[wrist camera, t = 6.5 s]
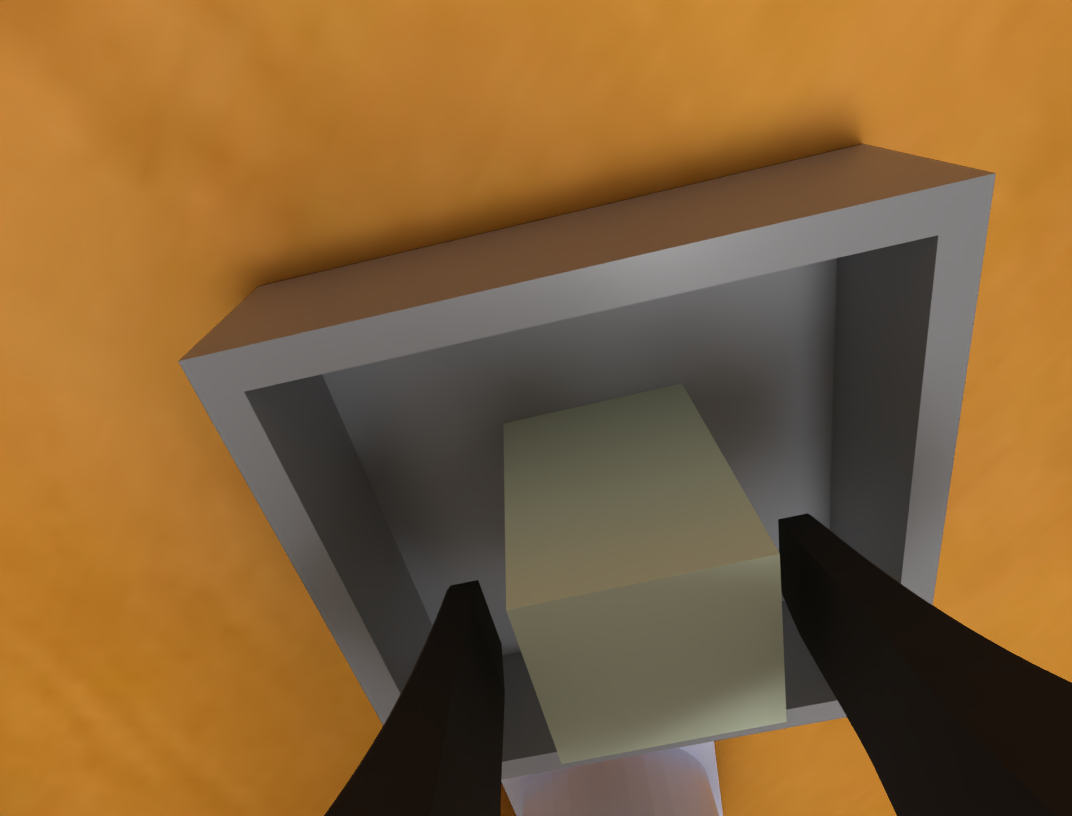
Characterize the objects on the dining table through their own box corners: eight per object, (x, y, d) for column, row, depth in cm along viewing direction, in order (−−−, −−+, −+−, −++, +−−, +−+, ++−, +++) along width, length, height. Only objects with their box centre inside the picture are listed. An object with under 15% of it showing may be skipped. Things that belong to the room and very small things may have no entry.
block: (699, 521, 17) (787, 722, 12) (542, 555, 18) (562, 764, 12) (682, 383, 15) (779, 553, 10) (503, 423, 15) (506, 610, 10)
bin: (843, 591, 20) (917, 703, 16) (434, 670, 21) (421, 793, 17) (863, 143, 13) (995, 173, 10) (258, 286, 14) (177, 361, 10)
